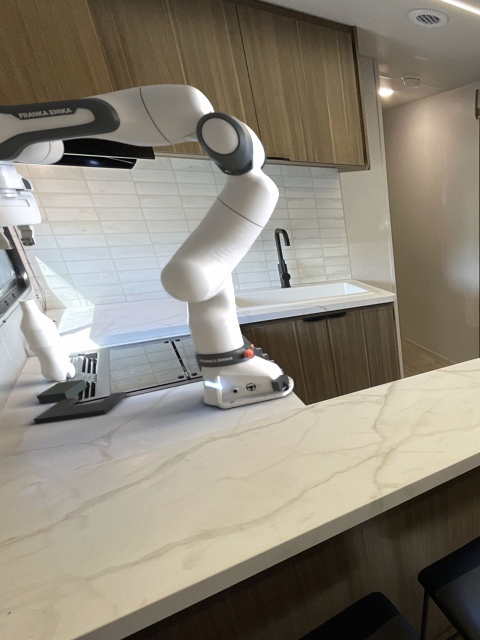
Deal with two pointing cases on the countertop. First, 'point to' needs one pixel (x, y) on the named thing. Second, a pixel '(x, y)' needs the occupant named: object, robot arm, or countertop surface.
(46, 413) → the notch mat
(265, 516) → the countertop surface
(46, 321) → the water bottle
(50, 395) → the pad
